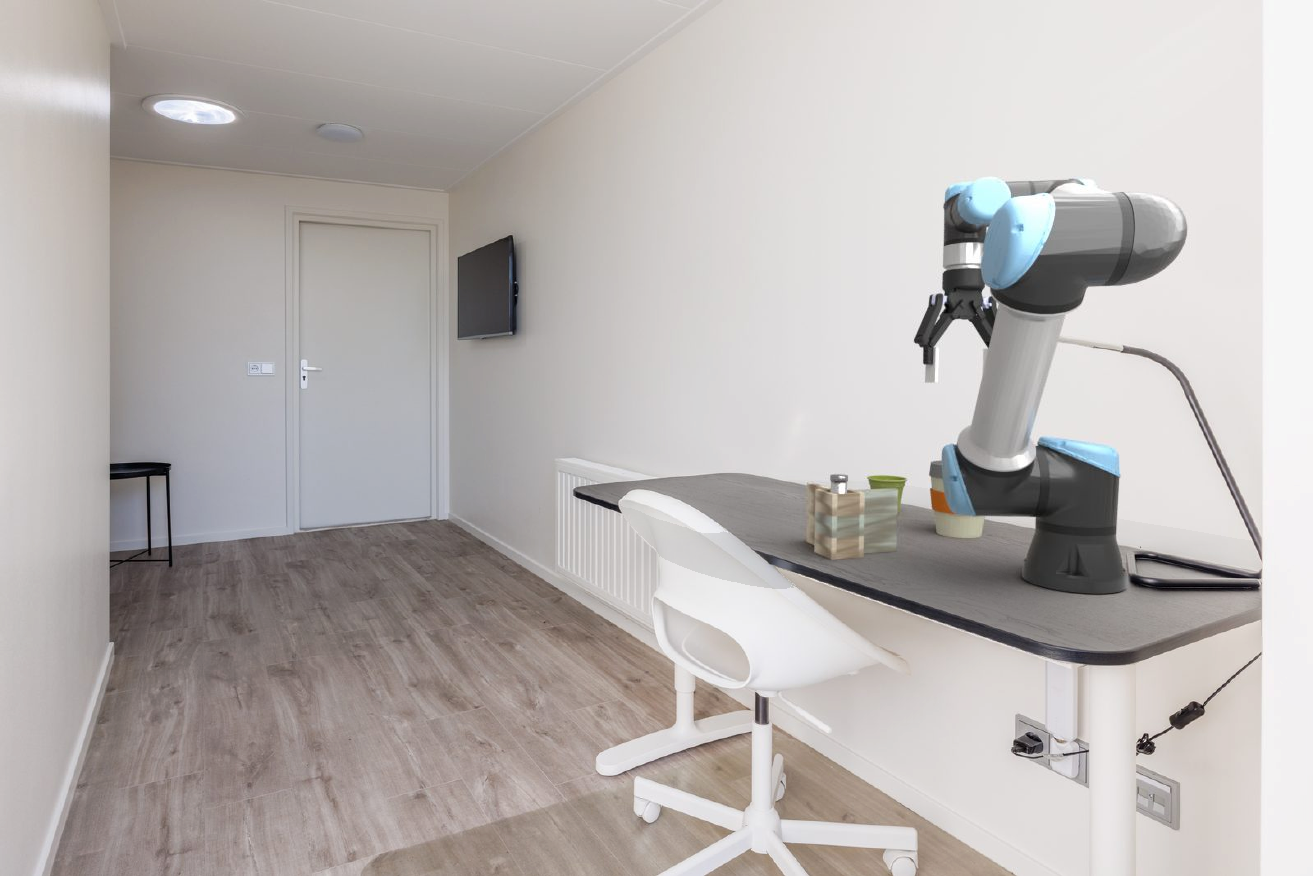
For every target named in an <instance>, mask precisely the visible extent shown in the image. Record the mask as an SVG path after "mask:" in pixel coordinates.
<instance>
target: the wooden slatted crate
mask: <svg viewBox="0 0 1313 876" xmlns="http://www.w3.org/2000/svg"><path fill="white" fill-rule="evenodd" d="M897 504H898V489H896V488H886V489H871V488H870V489H869V488H868V489H851V488H848V487H847V493H838V494H834V493H831V486H830V487H829V486H826V485H823V484H819V483H814V482H807V483H806V530H805V531H806V532H805V533H806V536H805V541H806V543H808V544H811V545H813V546H814V547H813V548H814V553H816V554H818V555H821V556H822V557H825V558H826V559H829V560H830V561H833V560H836V561H837V560H846V559H848V560H849V559H860V558H862V559H863V558H865V557H864V554H874V553H877V554H878V553H891V552H897V546H898V545H897V541H898V540H897V538H898V537H897V536H898V514H897Z"/></svg>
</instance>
